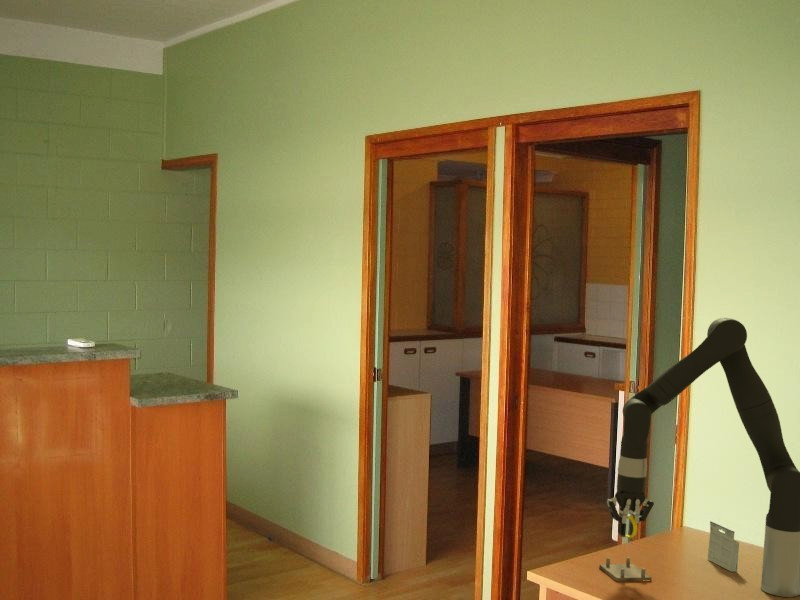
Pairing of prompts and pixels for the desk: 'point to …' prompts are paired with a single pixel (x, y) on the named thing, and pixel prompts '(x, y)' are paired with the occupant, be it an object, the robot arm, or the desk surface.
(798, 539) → the robot arm
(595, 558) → the desk surface
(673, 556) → the desk surface
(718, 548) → the ink box
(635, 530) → the watch
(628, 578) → the pin plate
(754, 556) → the desk surface
